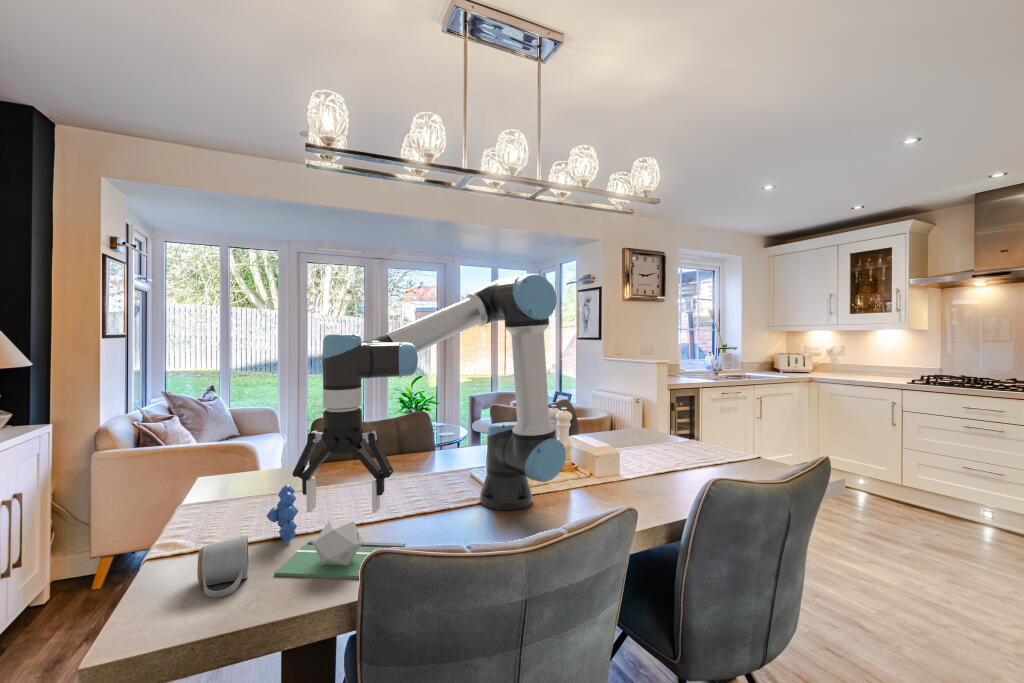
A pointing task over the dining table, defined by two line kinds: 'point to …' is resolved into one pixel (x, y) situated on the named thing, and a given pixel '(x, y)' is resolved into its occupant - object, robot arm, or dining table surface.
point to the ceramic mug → (223, 565)
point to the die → (338, 543)
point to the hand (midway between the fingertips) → (343, 510)
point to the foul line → (375, 544)
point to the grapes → (285, 513)
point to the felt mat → (311, 566)
